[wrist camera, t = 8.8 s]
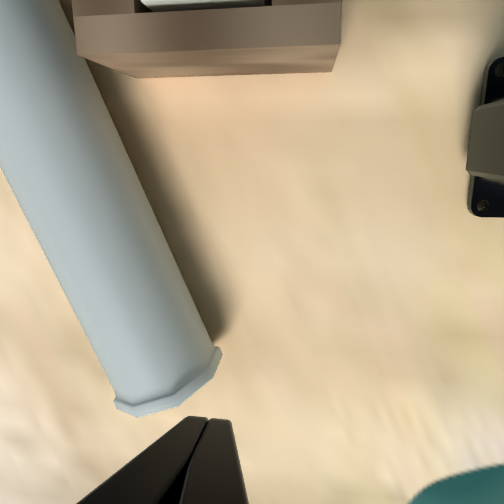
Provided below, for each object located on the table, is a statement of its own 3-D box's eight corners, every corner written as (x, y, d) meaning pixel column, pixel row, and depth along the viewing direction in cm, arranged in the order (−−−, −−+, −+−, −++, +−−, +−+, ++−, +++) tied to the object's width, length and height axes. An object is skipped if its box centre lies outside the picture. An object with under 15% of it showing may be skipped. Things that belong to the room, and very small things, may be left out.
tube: (-201, -149, 15) (99, 420, 19) (-155, -282, 12) (181, 416, 17) (-49, -93, 19) (165, 357, 24) (10, -181, 17) (239, 347, 21)
